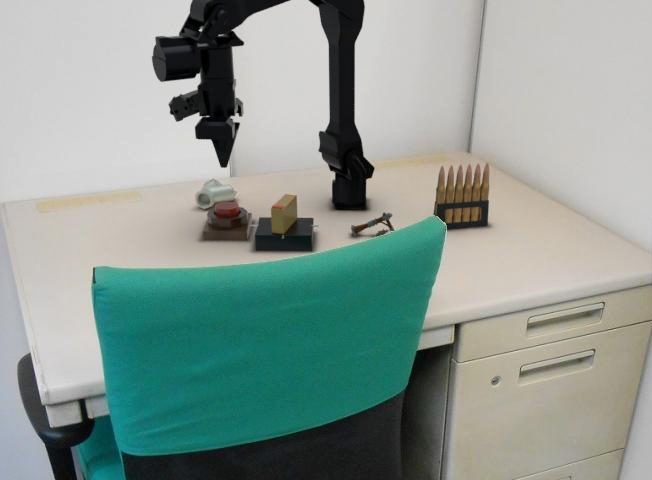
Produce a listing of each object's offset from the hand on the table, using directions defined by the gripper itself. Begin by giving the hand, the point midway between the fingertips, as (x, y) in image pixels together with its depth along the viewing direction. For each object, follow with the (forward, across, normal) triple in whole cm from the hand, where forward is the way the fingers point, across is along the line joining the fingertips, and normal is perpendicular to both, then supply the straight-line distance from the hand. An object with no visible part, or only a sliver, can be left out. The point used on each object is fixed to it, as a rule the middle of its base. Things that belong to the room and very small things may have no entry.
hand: (224, 166), depth 151 cm
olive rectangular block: (+9, +6, +11) cm, 15 cm away
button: (+9, 0, 0) cm, 9 cm away
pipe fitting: (+12, -15, -4) cm, 20 cm away
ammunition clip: (+12, -3, +44) cm, 46 cm away
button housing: (+12, 0, 0) cm, 12 cm away
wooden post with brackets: (+12, +2, +27) cm, 30 cm away
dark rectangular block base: (+12, +6, +11) cm, 17 cm away
